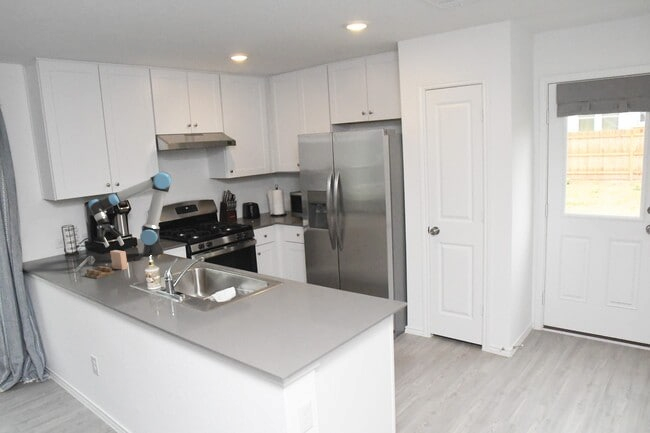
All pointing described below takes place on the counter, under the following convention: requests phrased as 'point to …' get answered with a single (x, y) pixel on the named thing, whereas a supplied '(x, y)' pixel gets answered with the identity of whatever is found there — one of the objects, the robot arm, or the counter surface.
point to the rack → (99, 272)
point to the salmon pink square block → (119, 259)
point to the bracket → (85, 262)
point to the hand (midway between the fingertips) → (115, 245)
